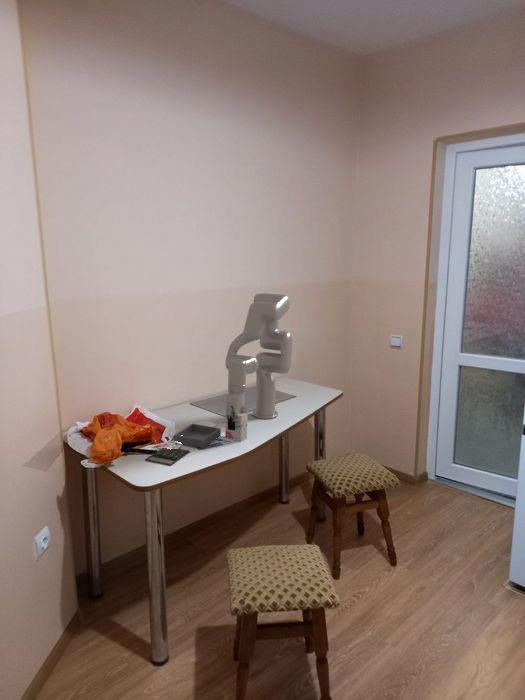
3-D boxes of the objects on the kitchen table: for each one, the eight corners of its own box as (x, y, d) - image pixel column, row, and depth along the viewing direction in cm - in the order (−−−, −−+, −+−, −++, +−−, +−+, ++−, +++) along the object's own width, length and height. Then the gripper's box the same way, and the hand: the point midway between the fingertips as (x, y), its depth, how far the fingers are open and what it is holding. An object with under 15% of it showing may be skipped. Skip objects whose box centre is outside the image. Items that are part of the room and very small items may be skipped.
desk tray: (192, 431, 226) (192, 423, 226) (220, 436, 221) (220, 428, 221) (173, 443, 212) (173, 435, 211) (202, 449, 207) (203, 440, 206)
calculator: (190, 450, 204) (170, 464, 190) (190, 452, 204) (170, 467, 190) (165, 445, 208) (144, 459, 194) (165, 447, 208) (144, 461, 194)
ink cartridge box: (224, 437, 220) (225, 405, 217) (231, 434, 224) (231, 402, 221) (241, 442, 215) (241, 408, 213) (247, 438, 220) (248, 405, 217)
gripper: (237, 382, 225) (236, 419, 228) (219, 392, 209) (219, 431, 212) (253, 384, 222) (252, 421, 225) (236, 394, 206) (235, 434, 209)
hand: (236, 426), depth 219 cm, fingers open, 9 cm apart
